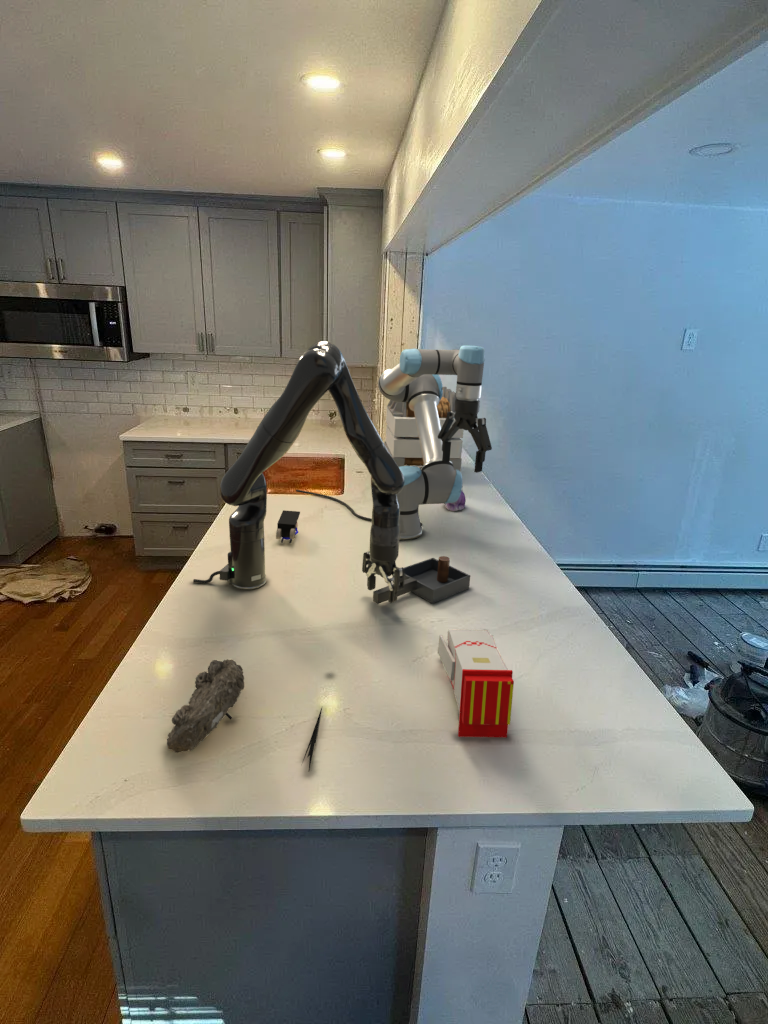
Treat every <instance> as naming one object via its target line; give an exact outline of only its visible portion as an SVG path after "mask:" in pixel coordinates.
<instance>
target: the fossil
mask: <svg viewBox="0 0 768 1024" xmlns="http://www.w3.org/2000/svg"><path fill="white" fill-rule="evenodd" d="M243 670H244V669H243V667H242V665H240V664H237V662H236V661H235V660H234V659H232V658H231V659H227V658H226V659H224V660H223V661H222V660H217V659H212V660H211V661H210V663H209V665H208V666H207V671H201V672H199V673H198V674H197V675H196V676H195V680H194V684H195V685H194V687H195V689H194V690H193V693H192V694H191V697H190V698H189V700H188V704H184V705H182V706H181V707H180V709H177V710H176V711H175V713H174V715H173V716H172V718H171V723H172V724H173V727H172V730H171V731H170V732H168V734H167V738H166V741H167V742H166V745H167V749H168V750H169V751H173V752H174V753H176V754H178V753H182V752H188V751H189V752H192V751H193V750H195V748H196V747H197V746H199V744H200V743H201V742H203V741H204V740H205V739H206V738H207V737H208V736H209V735H210V734H211V733H212V732H214V730H215V729H217V727H218V726H219V724H220V722H221V721H222V720H223V719H224V718H225V716H226V717H227V719H229V720H233V717H232V715H230V714H229V710H230V709H231V708H234V706H235V704H236V703H237V702H238V699H239V697H240V695H241V693H242V691H243V690H245V689H244V688H245V675H244V671H243Z"/></svg>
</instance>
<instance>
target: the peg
mask: <svg viewBox="0 0 768 1024" xmlns="http://www.w3.org/2000/svg"><path fill="white" fill-rule="evenodd" d="M437 560H438V572H437V581H438V582H442V583H445V582H447V581H448V573H449V566H450V560H451V559H450V557H449V556H446V555H441V556H439V557H438V559H437Z"/></svg>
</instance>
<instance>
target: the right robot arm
mask: <svg viewBox="0 0 768 1024" xmlns="http://www.w3.org/2000/svg"><path fill="white" fill-rule="evenodd" d="M485 352H486V349H485V348H484V346H481V345H469V344H468V345H467V344H466V345H465V344H464V345H461V346H460V348H452V349H429V348H428V349H425V348H415V347H414V348H404V349H403V350H402V351H401V352H400V356H399V363H397V364H396V365H395V366H393V368H388V369H386V370H384V371H383V372H382V373H381V374H380V376H379V377H378V382H377V386H378V390H379V392H380V393H381V395H382V396H383V397H384V398H386V399H387V400H389V401H390V400H392V401H395V402H408V404H409V408H410V409H411V410H412V411H414V414H415V419H416V424H417V430H418V435H419V440H420V446H421V451H422V456H423V462H424V466H421V467H420V466H407V465H404V466H401V467H399V468H400V470H401V471H402V473H403V475H404V479H405V483H404V487H403V489H402V491H401V492H400V493H398V494H397V500H398V503H399V506H400V519H399V530H400V535H399V541H410V540H415V539H418V538H420V537H421V536H422V535H423V527H424V526H423V523H422V522H421V518H420V515H419V507H420V505H435V504H436V505H439V504H440V505H442V504H443V505H445V504H446V503H453V502H456V501H457V500H458V499H459V497H460V494H461V490H462V489H463V474H462V471H461V472H460V471H459V470H454V467H453V463H452V462H450V450H451V442H448V441H450V439H451V438H452V437H453V435H454V434H455V433H456V432H457V431H458V430H459V429H464V431H467V433H469V434H470V436H471V438H472V439H473V442H474V444H475V447H476V448H477V450H476V452H475V461H474V471H473V472H474V473H475V474H476V473H481V472H483V465H484V462H485V461H486V453H487V452H488V451H489V452H490V451H492V450H493V448H492V447H493V446H492V443H491V441H490V440H491V439H490V436H489V431H488V428H487V419H486V417H479V416H478V415H479V412H480V407H481V401H480V399H481V398H482V385H483V377H484V369H485V368H484V366H485V361H486V359H485V355H486V353H485ZM440 376H456V386H455V393H456V397H457V399H456V400H455V408H454V410H455V411H456V413H455V412H454V411H451V412H447V417H446V420H445V422H444V424H443V426H442V428H441V426H440V421H439V416H438V411H437V405H438V404H439V401H440V400H441V398H442V394H443V390H442V388H443V387H444V385H443V381H442V379H441V377H440ZM454 418H455V422H454V424H453V425H452V423H453V421H454ZM451 425H452V427H451ZM450 427H451V428H450ZM449 429H450V430H449ZM462 491H463V490H462ZM295 492H296V493H301V494H307V495H312V496H317V497H322V498H326V499H329V500H332V501H336V502H338V503H340V504H342V505H343V506H345V507H346V508H347V509H348V510H349V511H350V512H351V513H352V514H353V515H354V516H355V517H357V518H358V519H362V520H365V521H370V522H372V517H371V518H370V517H366V516H362V515H360V514H357V513H356V512H355V510H354V509H353V508H352V506H350V505H348V504H347V503H346V502H344V501H343V500H341V499H338V498H336V497H333V496H330V495H326V494H322V493H317V492H312V491H307V490H301V489H295Z"/></svg>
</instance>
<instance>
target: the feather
mask: <svg viewBox="0 0 768 1024" xmlns="http://www.w3.org/2000/svg"><path fill="white" fill-rule="evenodd" d="M329 675H330V676H331V675H332V674H331V673H330V674H329ZM322 710H323V707H321V708H320V710H319V713H318V716H317V719H316V723H315V725H314V728H313V731H312V733H311V737H310V739H309V742H308V745H307V748H306V751H305V754H304V757H303V760H302V763H301V767H302V765H303V763H304V761H305V758H308V759H309V760H308V762H307V763H308V764H307V766H308V771H310V770H311V766H312V765H311V764H312V760H313V757H315V756H314V755H315V751H316V749H315V746H317V739H318V733H319V729H320V722H321V717H322V712H323V711H322ZM313 754H314V755H313ZM306 755H307V757H306Z"/></svg>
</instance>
